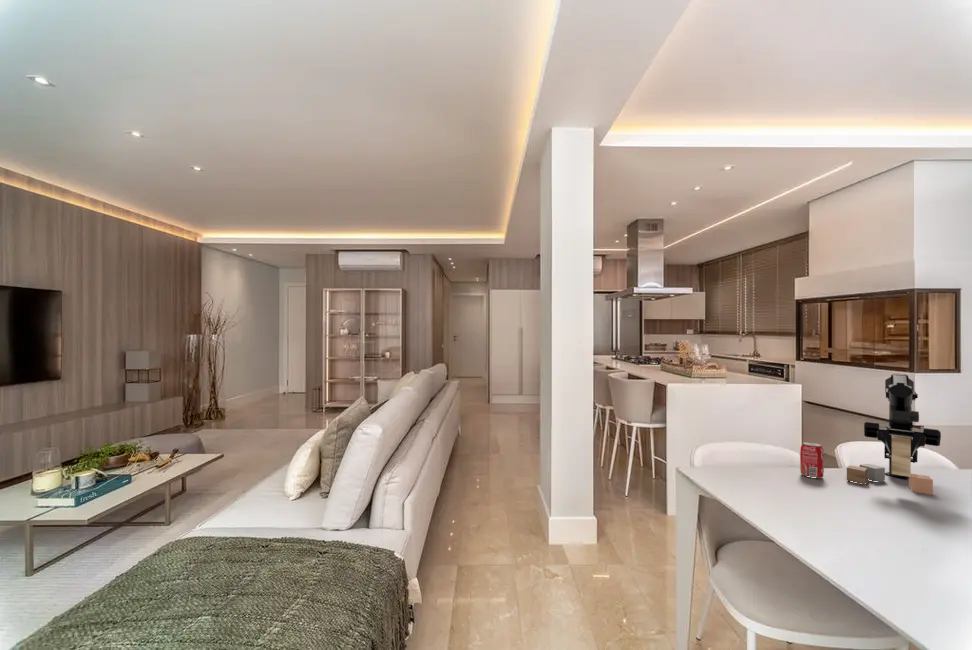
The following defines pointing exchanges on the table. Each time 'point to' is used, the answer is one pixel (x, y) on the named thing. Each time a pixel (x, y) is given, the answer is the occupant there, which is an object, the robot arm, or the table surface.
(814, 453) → the soda can
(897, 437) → the tall oak block
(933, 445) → the robot arm
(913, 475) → the terracotta block
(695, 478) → the table surface
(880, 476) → the slate grey block
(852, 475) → the walnut block
